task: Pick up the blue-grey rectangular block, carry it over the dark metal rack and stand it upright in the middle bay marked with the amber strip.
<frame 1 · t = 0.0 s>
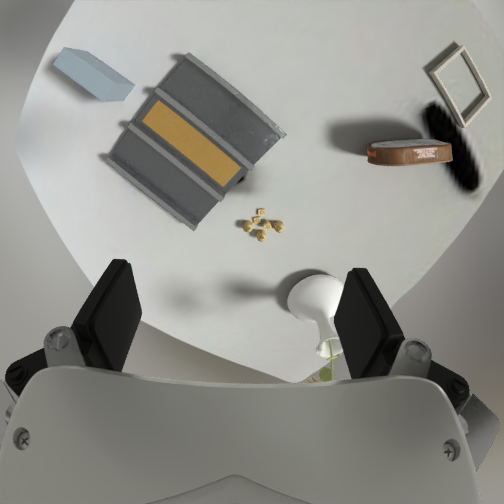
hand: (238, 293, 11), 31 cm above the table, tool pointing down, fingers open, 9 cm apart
tin: (397, 145, 37), on the table
dice set: (261, 223, 45), on the table
flower in vase: (313, 296, 52), on the table
rack: (192, 141, 37), on the table
blue-grey rectangular block: (104, 74, 30), on the table
beige square frame: (461, 85, 30), on the table
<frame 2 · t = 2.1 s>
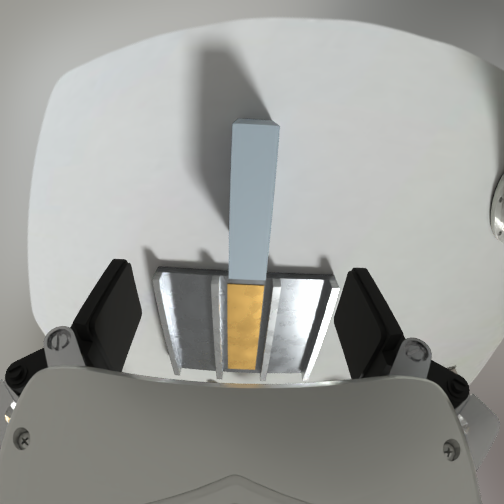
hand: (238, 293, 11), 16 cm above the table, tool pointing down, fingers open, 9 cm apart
rack: (243, 328, 35), on the table
blue-grey rectangular block: (251, 182, 25), on the table
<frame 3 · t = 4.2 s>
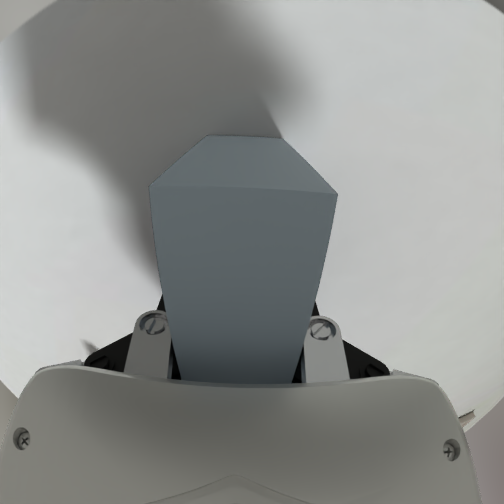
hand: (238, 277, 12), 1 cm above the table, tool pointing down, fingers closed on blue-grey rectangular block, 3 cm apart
blue-grey rectangular block: (239, 264, 13), on the table, touching gripper
beige square frame: (440, 432, 36), on the table
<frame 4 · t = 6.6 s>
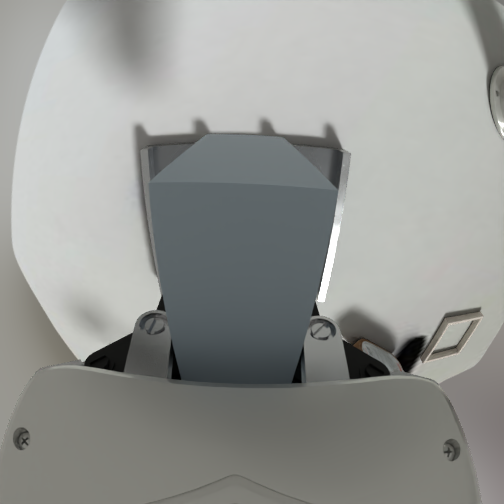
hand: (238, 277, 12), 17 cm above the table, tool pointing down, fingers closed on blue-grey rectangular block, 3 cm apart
tin: (373, 347, 43), on the table
rack: (243, 224, 30), on the table
blue-grey rectangular block: (239, 263, 13), point 16 cm above the table, touching gripper
beige square frame: (451, 335, 43), on the table
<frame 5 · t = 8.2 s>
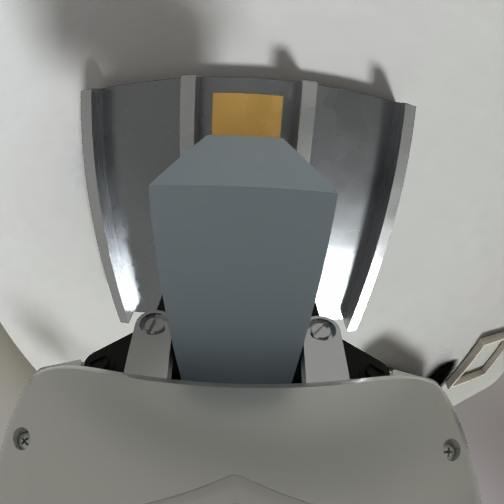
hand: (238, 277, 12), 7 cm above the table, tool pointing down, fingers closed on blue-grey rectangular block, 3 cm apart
rack: (242, 212, 19), on the table
blue-grey rectangular block: (239, 264, 13), point 6 cm above the table, touching gripper
beige square frame: (481, 356, 32), on the table
when the fingers open (3 cm above the table, at t = 9.4 s): blue-grey rectangular block stays where it is, resting on rack.
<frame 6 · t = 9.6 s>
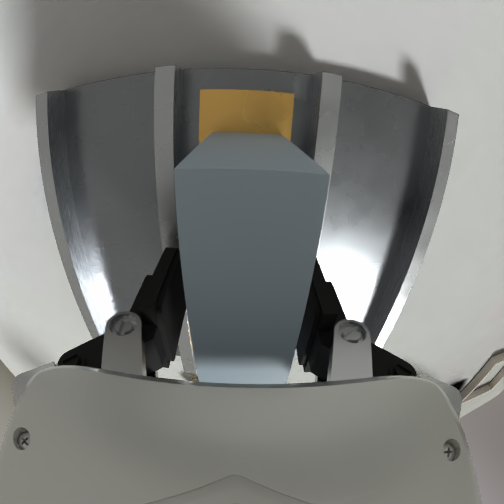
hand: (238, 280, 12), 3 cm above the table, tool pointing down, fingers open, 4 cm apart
rack: (239, 243, 15), on the table
blue-grey rectangular block: (242, 252, 14), point 1 cm above the table, touching rack
beige square frame: (490, 373, 29), on the table
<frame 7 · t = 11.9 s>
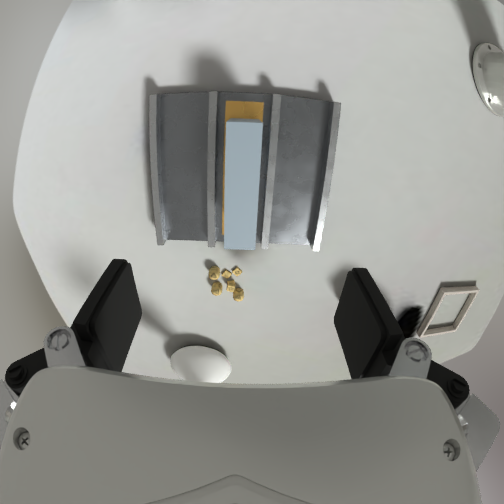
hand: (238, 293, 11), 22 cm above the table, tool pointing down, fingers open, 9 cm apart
dice set: (225, 277, 39), on the table
flower in vase: (197, 359, 48), on the table
rack: (241, 169, 31), on the table
blue-grey rectangular block: (242, 171, 30), point 1 cm above the table, touching rack
beige square frame: (447, 309, 44), on the table
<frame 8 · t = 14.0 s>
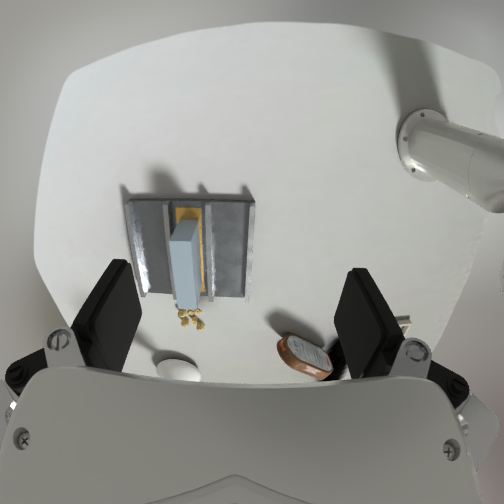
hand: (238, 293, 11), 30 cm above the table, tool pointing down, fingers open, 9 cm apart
tin: (304, 341, 58), on the table
dice set: (191, 314, 54), on the table
flower in vase: (176, 368, 63), on the table
rack: (191, 249, 45), on the table
blue-grey rectangular block: (191, 253, 44), point 1 cm above the table, touching rack
beige square frame: (381, 338, 59), on the table
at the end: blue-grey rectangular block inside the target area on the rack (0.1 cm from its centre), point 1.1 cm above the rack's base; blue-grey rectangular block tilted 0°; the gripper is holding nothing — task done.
